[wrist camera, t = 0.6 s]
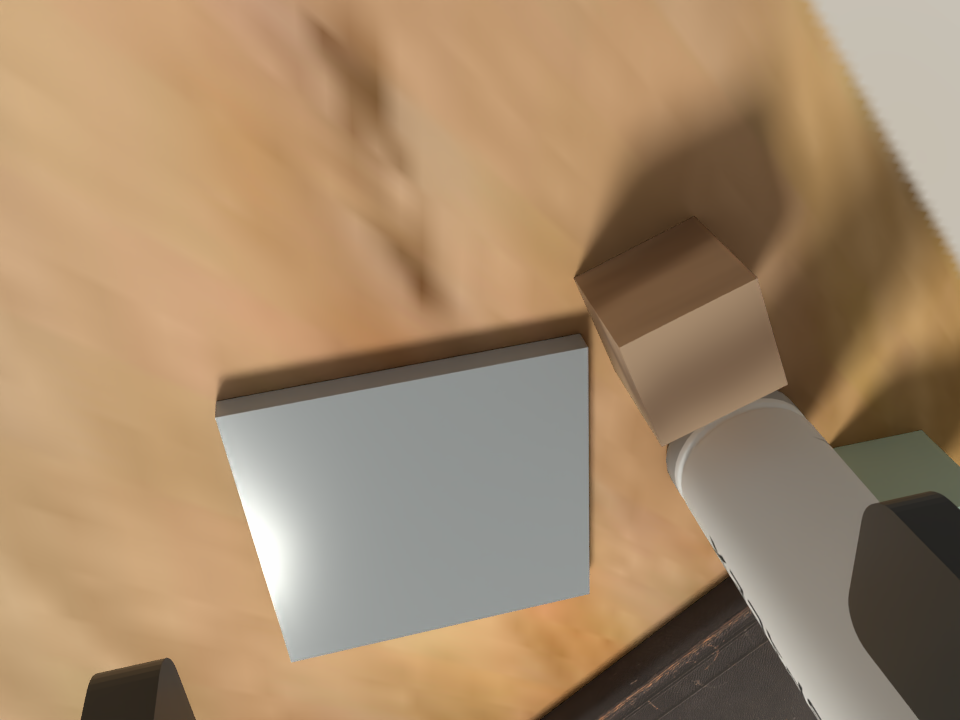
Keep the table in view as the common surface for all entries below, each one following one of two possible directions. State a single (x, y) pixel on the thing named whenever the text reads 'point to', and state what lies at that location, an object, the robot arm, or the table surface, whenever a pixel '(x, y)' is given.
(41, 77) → the table surface
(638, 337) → the walnut block
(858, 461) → the sage block
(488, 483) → the slate board
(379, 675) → the table surface
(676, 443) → the travel mug
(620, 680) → the hardcover book
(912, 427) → the table surface
